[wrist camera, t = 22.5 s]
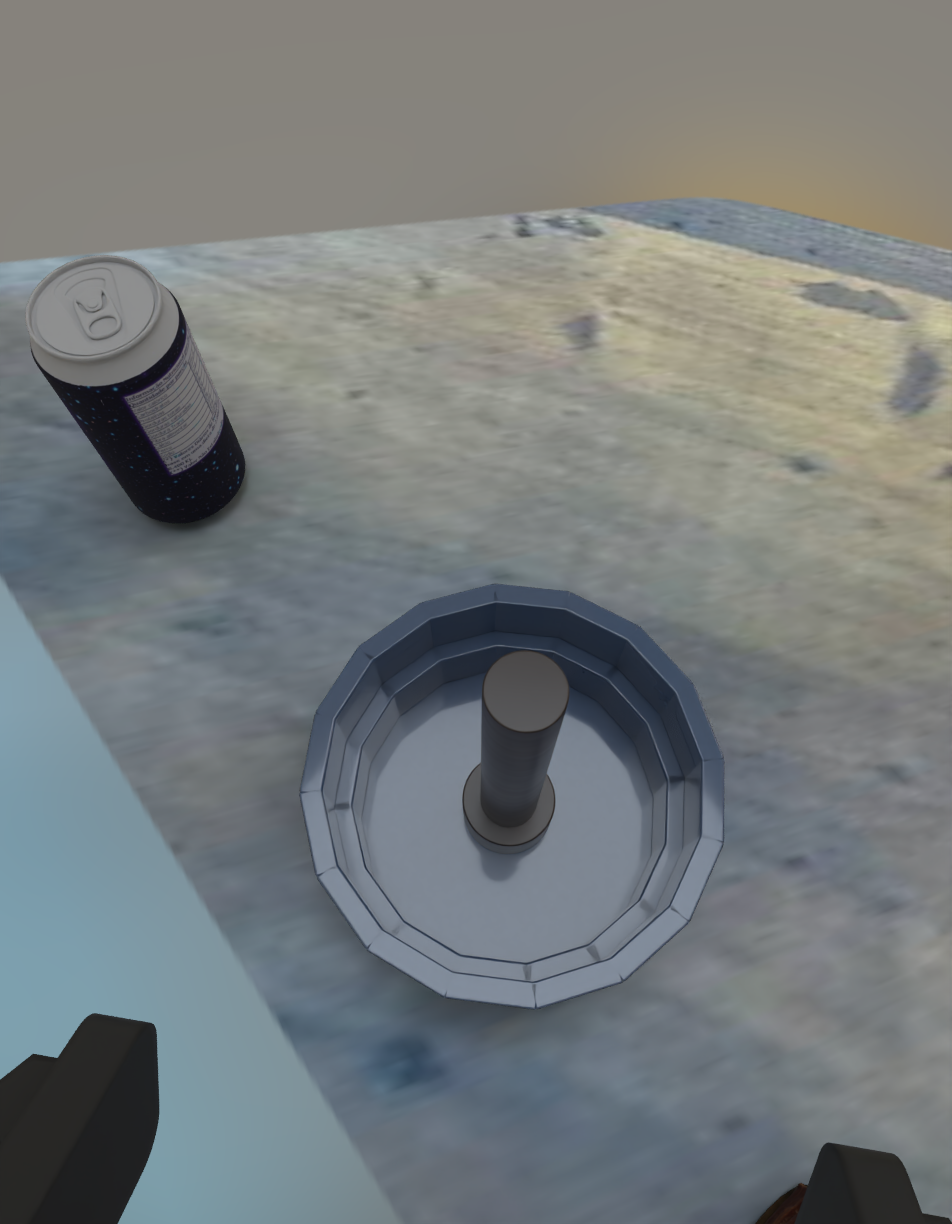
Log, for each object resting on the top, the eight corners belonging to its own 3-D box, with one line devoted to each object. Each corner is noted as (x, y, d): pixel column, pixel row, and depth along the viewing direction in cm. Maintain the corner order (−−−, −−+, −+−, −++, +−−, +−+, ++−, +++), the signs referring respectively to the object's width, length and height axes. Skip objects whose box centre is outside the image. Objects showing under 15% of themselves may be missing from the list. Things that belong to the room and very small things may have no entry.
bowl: (758, 841, 36) (813, 810, 30) (478, 1092, 32) (478, 1113, 26) (530, 588, 41) (539, 518, 35) (263, 783, 37) (222, 742, 31)
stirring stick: (556, 772, 36) (604, 634, 23) (545, 860, 35) (589, 771, 21) (470, 759, 37) (466, 615, 23) (456, 846, 35) (442, 749, 21)
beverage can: (224, 417, 45) (141, 226, 34) (267, 502, 43) (194, 329, 32) (116, 462, 43) (-6, 280, 32) (156, 551, 41) (40, 390, 30)
